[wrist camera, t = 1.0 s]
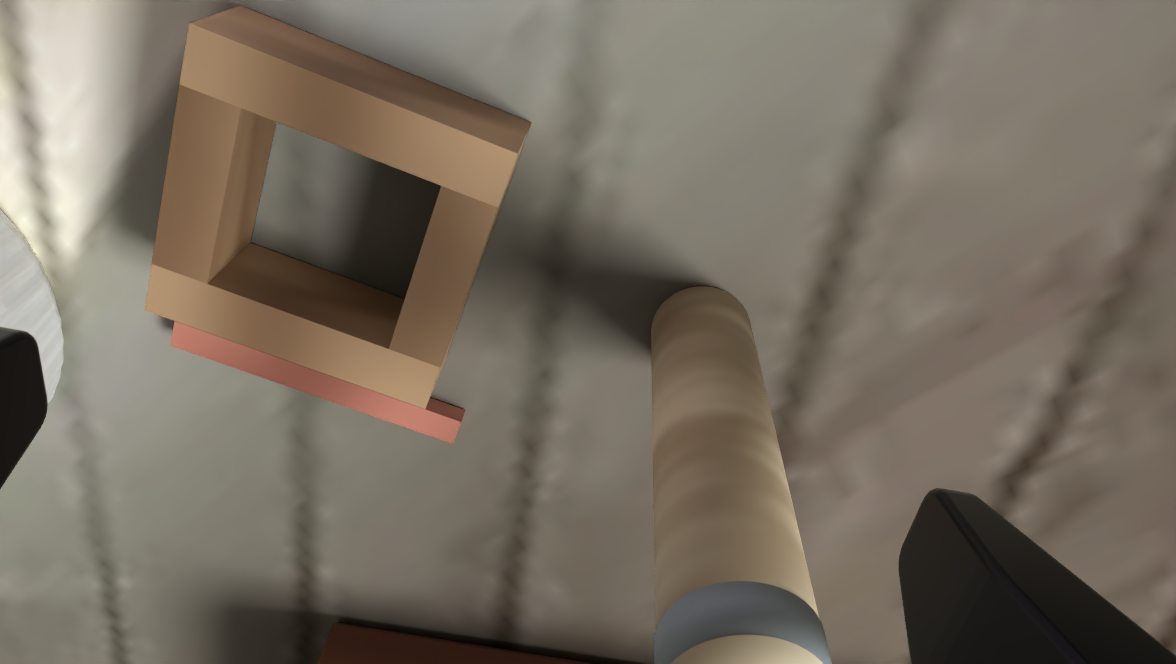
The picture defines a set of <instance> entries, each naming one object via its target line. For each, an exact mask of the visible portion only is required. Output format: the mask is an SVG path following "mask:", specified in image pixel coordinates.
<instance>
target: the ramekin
mask: <svg viewBox="0 0 1176 664" xmlns="http://www.w3.org/2000/svg"><path fill="white" fill-rule="evenodd" d="M0 327H5V328H10V329H16V330H22V331H26V332H28V333H29V334H31V335H32V336H33V337H34V339H35V340H36V342H37V345H38V348H39V354H40V359H41V365H42V371H43V377H44V382H45V388H46V394H47V402H48V403H49V402H50V401H51V399H52V397H53V395H54V393H55V389H56V386H57V384H58V382H59V379H60V375H61V366H62V364H63V359H64V357H63V343H64V339H63V333H62V329H61V318H60V315H59V312H58V308H57V305H56V301H55V297H54V294H53V291H52V288H51V286H50V283H49V281H48V279H47V276H46V274H45V272H44V270H43V268H42V266H41V264H40V262H39V260H38V258H37V257H36V255H35V253H34V252H33V250H32V248H31V247H30V245H29V244H28V242H27V241H26V239H25V238H24V237H23V235H22V234H21V233H20V231H19V230H18V229H17V228H16V226H15V225H14V224H13V223H12V222H11V221H10V219H9V218H8V217H7V216H6V215H5V214H4V213H3V212H2V211H1V210H0Z"/></svg>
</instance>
